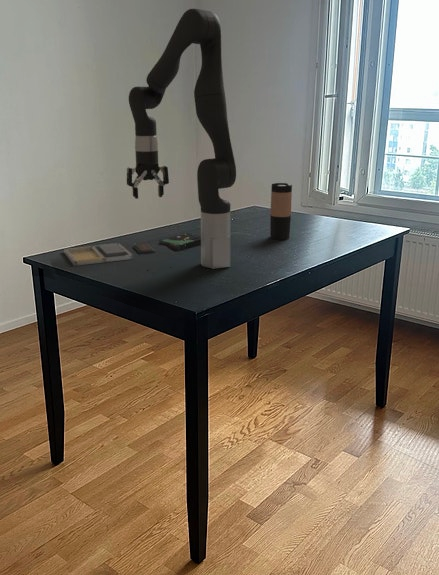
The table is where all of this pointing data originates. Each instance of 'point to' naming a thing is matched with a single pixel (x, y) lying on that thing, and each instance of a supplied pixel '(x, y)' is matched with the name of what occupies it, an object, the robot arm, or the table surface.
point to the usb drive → (143, 248)
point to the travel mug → (280, 211)
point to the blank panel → (110, 250)
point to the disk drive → (182, 241)
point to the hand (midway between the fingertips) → (148, 197)
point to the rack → (93, 255)
